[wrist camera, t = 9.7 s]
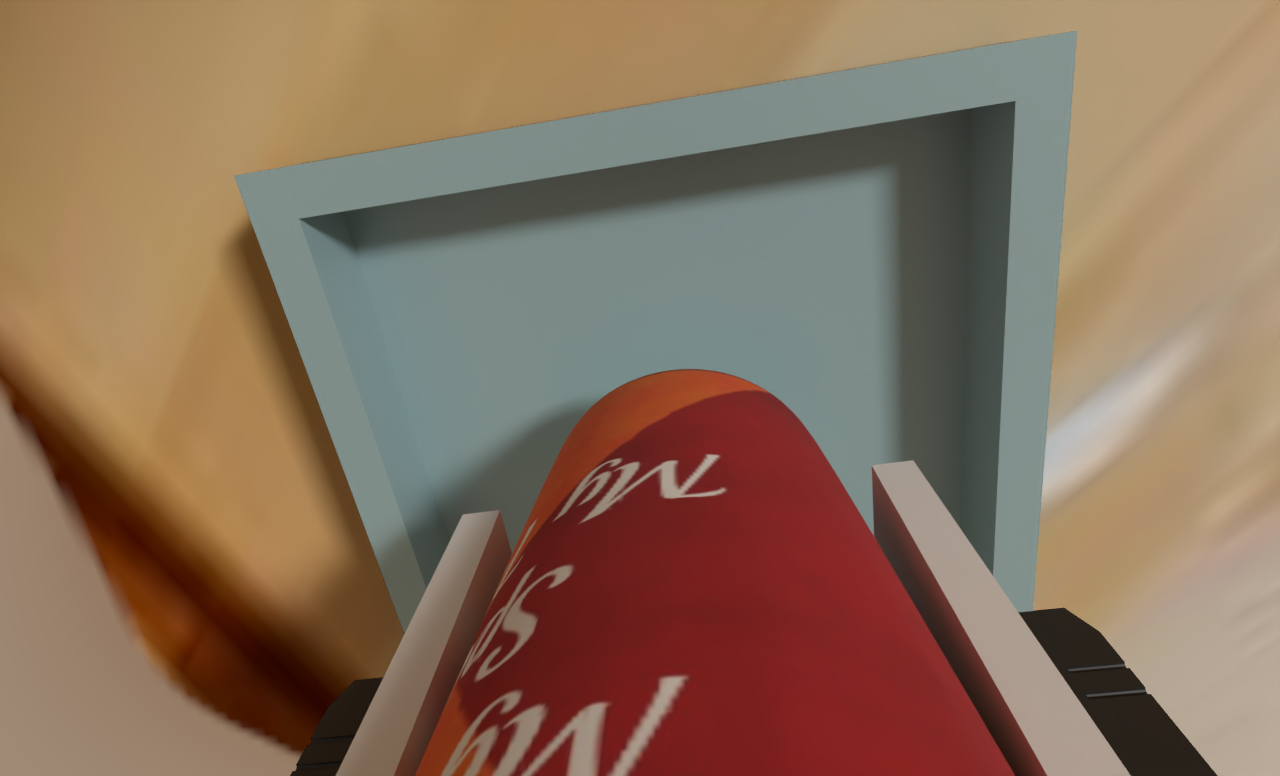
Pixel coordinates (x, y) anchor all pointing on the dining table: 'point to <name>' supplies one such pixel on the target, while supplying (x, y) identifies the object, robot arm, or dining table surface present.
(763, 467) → the coffee cup
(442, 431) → the tray
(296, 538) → the dining table surface
